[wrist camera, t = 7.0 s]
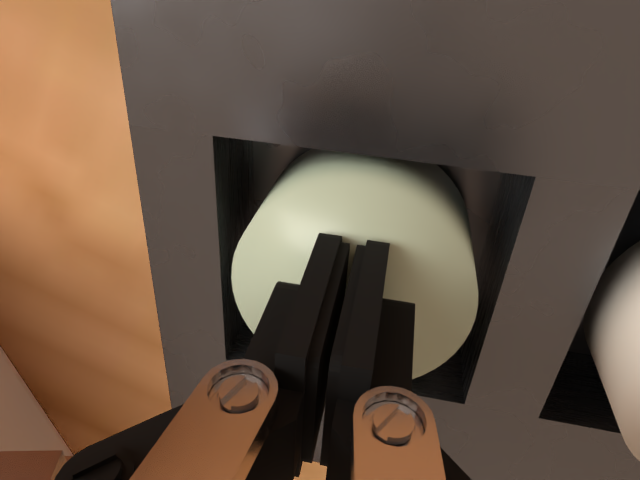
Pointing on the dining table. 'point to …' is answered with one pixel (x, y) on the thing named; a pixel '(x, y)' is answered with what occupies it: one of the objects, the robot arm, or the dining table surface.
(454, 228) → the sage button
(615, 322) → the cream button
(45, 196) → the dining table surface
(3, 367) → the rounded white slab
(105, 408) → the dining table surface
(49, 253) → the dining table surface
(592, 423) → the button console
